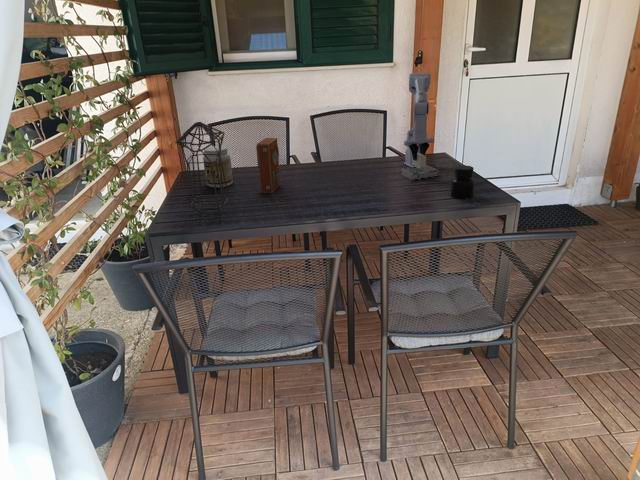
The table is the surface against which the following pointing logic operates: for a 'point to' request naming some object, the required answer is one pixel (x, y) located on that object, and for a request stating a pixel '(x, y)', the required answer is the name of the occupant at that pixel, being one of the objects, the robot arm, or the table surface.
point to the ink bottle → (463, 182)
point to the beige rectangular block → (420, 160)
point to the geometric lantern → (205, 127)
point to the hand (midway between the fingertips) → (418, 159)
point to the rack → (419, 172)
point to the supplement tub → (226, 166)
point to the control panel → (268, 164)
